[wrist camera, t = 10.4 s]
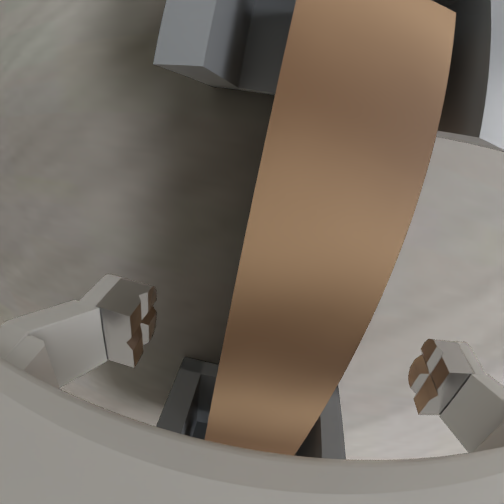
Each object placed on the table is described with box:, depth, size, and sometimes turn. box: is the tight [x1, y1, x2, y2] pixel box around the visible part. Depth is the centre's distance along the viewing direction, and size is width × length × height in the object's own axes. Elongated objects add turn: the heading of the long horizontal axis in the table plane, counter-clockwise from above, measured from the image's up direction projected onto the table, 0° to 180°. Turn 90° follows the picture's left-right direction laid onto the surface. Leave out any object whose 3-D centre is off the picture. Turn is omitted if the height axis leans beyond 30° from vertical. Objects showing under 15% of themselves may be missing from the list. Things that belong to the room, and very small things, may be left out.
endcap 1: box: [153, 0, 504, 152], centre depth 7 cm, size 6×9×6 cm, turn 81°
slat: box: [204, 0, 456, 455], centre depth 11 cm, size 21×4×4 cm, turn 169°
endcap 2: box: [156, 357, 346, 459], centre depth 16 cm, size 6×9×6 cm, turn 81°
